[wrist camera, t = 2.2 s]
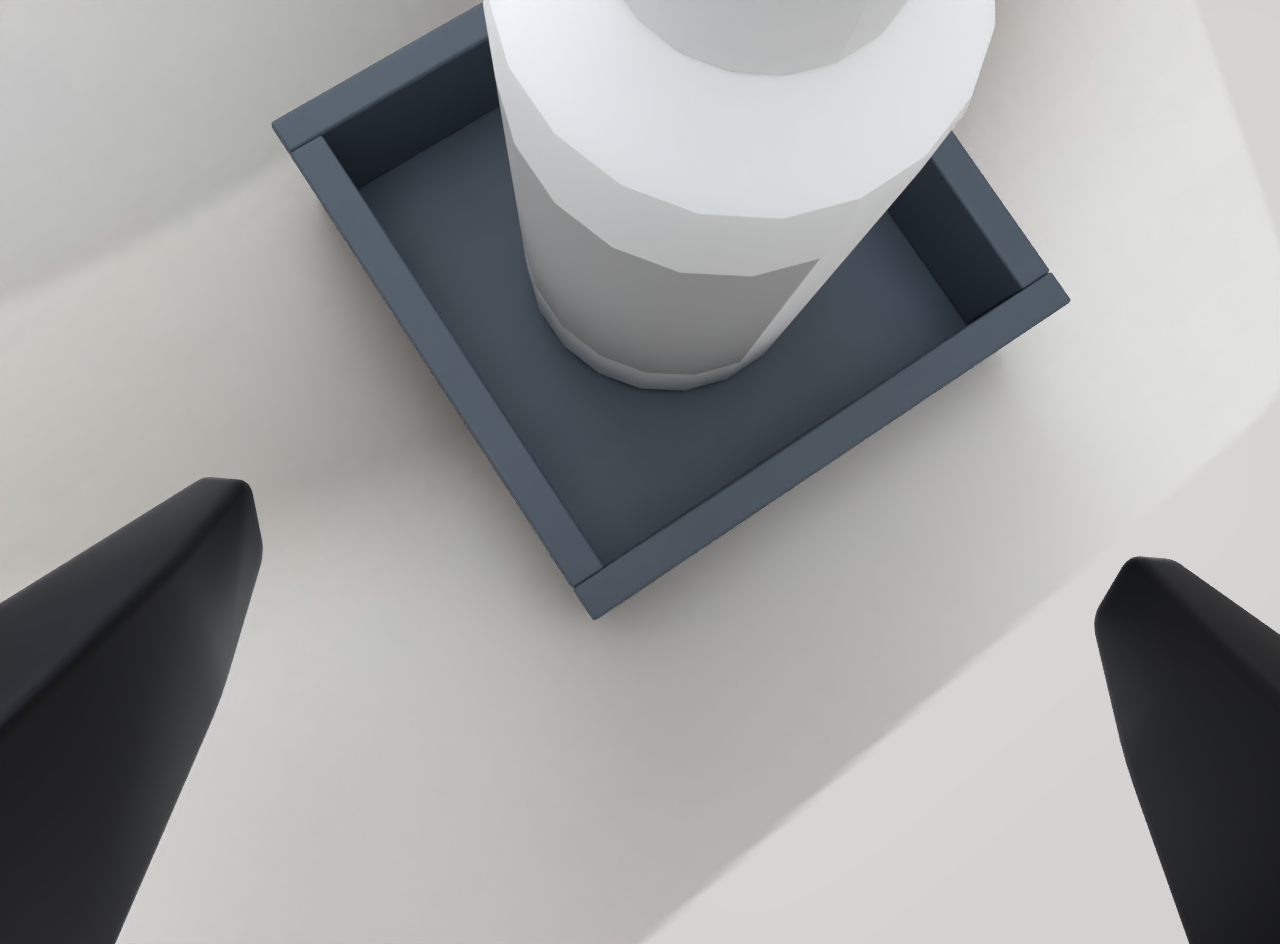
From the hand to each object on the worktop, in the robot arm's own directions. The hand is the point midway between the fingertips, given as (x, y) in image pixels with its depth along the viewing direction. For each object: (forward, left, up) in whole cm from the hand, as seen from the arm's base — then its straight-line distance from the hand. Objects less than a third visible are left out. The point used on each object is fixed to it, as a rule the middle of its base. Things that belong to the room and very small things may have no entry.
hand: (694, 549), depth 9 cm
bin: (+6, -5, -13) cm, 15 cm away
